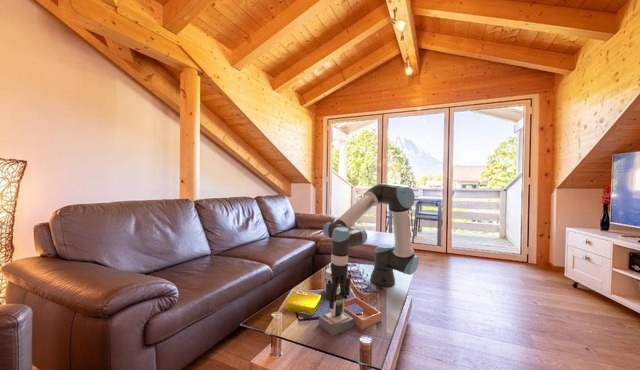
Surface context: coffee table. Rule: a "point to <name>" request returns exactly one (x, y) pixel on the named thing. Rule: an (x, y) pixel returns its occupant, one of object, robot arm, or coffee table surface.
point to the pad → (336, 318)
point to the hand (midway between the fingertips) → (337, 312)
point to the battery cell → (338, 303)
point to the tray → (368, 316)
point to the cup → (327, 276)
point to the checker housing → (335, 328)
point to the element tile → (303, 302)
